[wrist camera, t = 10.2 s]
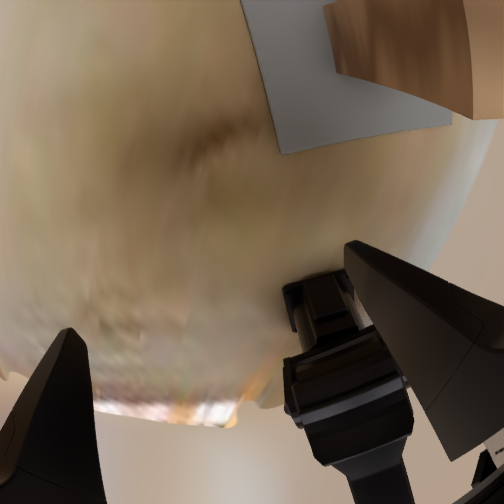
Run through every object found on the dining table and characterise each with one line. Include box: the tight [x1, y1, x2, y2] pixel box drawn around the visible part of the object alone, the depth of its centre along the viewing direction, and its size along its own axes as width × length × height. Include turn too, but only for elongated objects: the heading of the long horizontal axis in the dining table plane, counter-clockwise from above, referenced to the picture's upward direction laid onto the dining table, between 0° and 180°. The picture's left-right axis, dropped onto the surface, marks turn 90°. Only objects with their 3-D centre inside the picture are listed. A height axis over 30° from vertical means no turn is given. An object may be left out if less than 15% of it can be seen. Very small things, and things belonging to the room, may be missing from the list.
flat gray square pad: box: [240, 0, 452, 155], centre depth 15 cm, size 14×14×1 cm
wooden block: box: [323, 0, 504, 120], centre depth 10 cm, size 5×5×12 cm
